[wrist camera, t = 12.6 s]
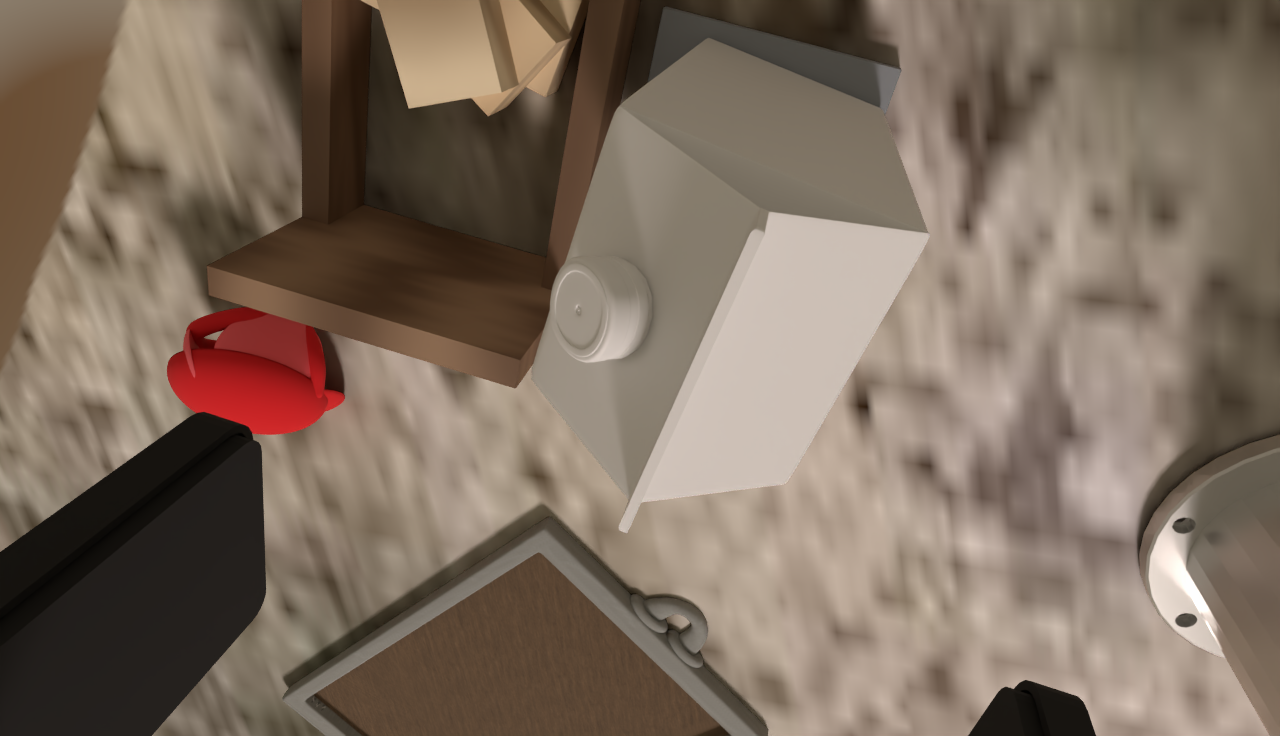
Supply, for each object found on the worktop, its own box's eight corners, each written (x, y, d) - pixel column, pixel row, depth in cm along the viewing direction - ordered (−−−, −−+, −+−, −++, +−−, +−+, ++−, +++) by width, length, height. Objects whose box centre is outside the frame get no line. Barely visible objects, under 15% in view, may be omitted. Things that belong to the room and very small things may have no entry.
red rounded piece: (144, 345, 38) (167, 463, 38) (170, 299, 34) (197, 431, 33) (308, 334, 44) (332, 436, 43) (348, 293, 40) (375, 406, 39)
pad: (900, 67, 29) (901, 70, 28) (820, 285, 33) (819, 290, 33) (666, 6, 30) (663, 7, 29) (618, 228, 34) (615, 232, 33)
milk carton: (884, 108, 29) (963, 312, 13) (801, 272, 33) (779, 599, 16) (707, 35, 29) (557, 144, 13) (644, 207, 33) (463, 466, 16)
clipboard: (279, 699, 54) (577, 504, 40) (292, 680, 55) (585, 486, 42) (476, 859, 58) (805, 731, 45) (484, 838, 60) (806, 707, 46)
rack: (655, -75, 28) (592, -84, 21) (582, 293, 36) (515, 388, 28) (347, -154, 29) (174, -191, 21) (339, 222, 37) (208, 295, 29)
